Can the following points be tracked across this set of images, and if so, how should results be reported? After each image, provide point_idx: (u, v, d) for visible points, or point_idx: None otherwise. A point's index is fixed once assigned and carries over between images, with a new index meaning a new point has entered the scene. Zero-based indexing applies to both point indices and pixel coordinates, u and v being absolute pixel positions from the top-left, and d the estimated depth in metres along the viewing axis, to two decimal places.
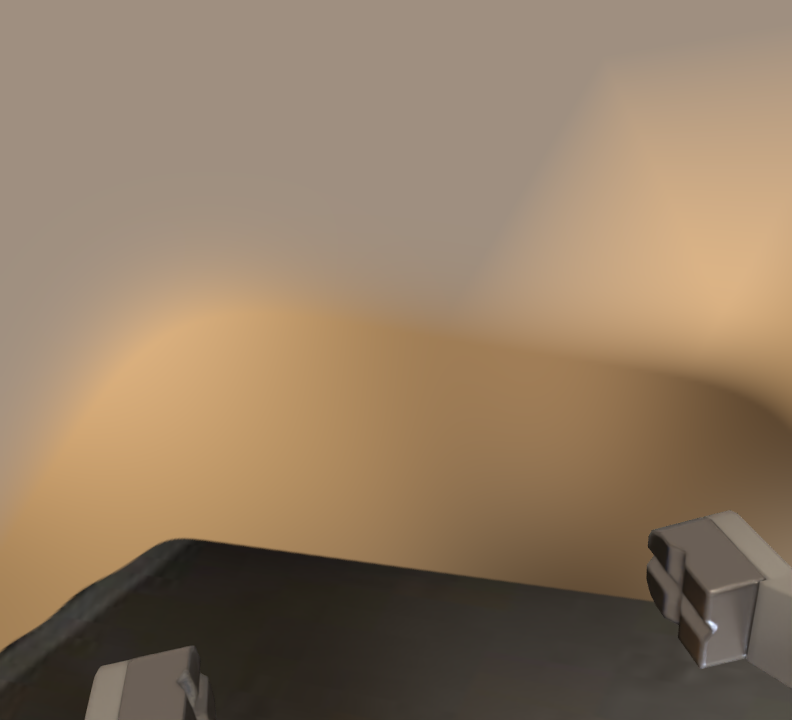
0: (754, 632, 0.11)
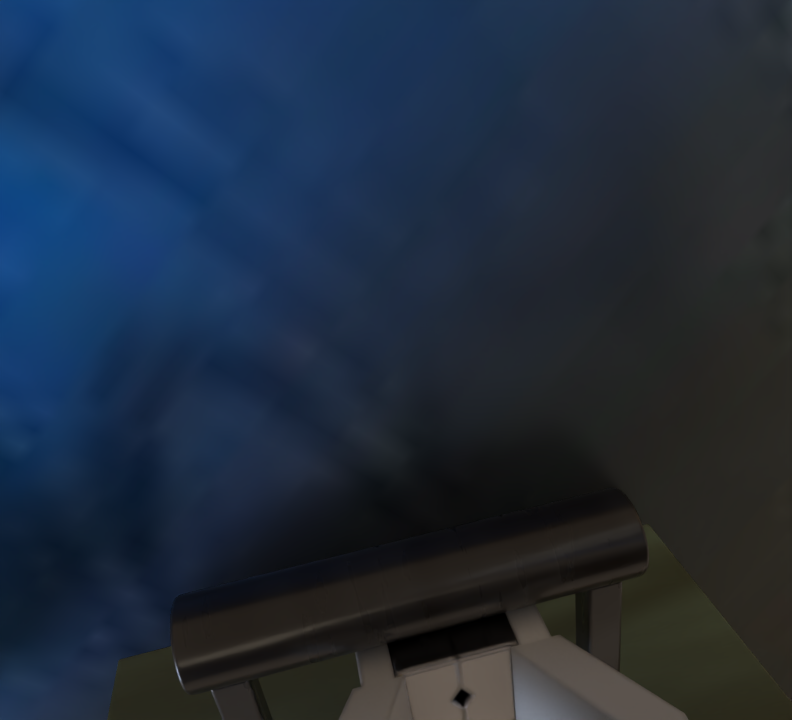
0: (515, 697, 0.10)
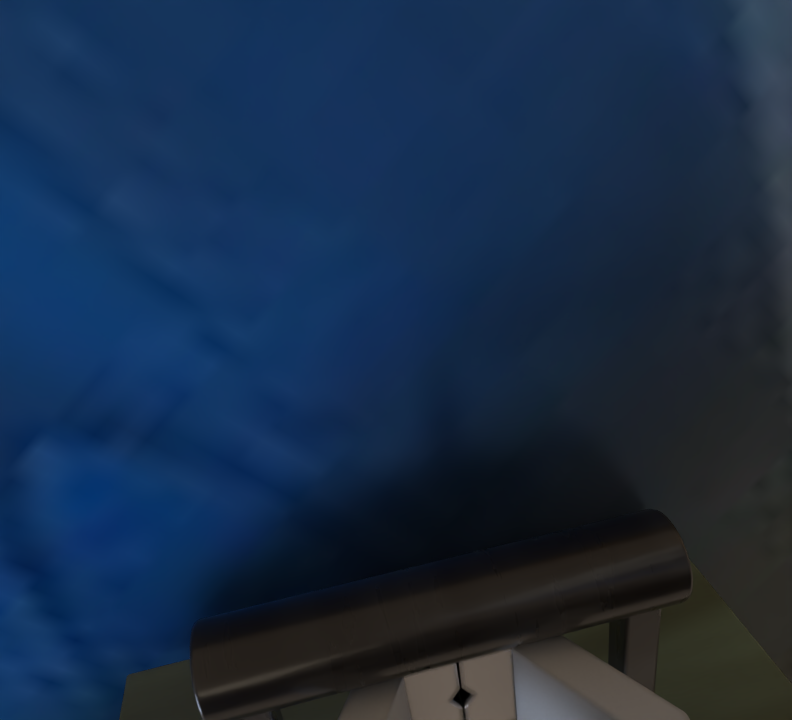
0: (516, 697, 0.10)
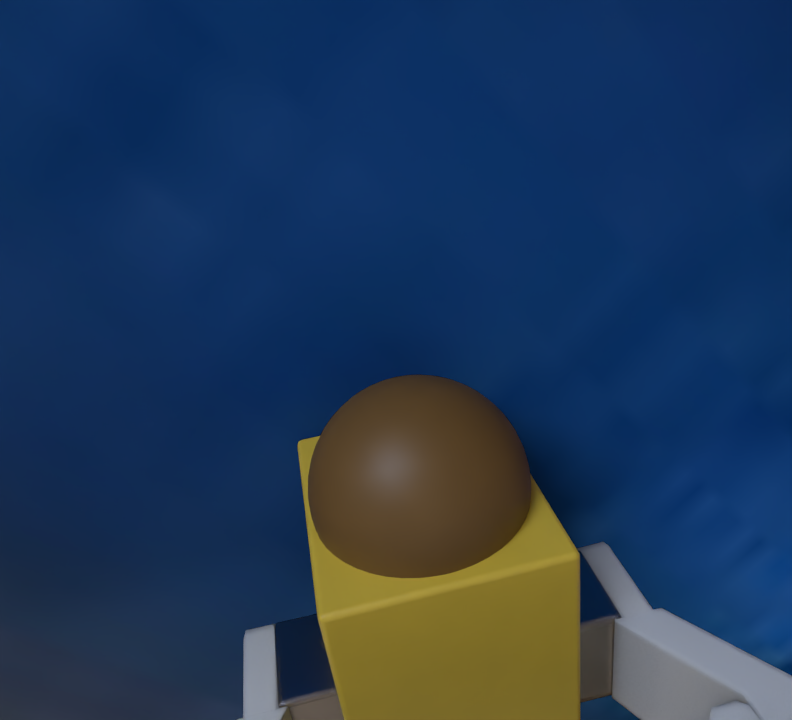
0: (614, 670, 0.11)
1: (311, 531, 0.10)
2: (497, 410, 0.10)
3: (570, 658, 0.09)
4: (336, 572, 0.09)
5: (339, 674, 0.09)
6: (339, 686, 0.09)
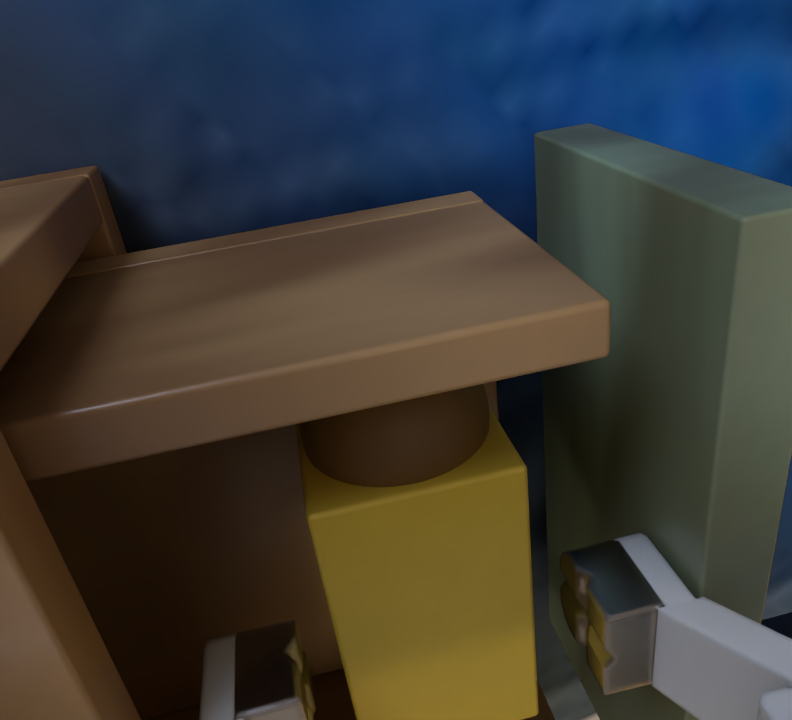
0: (656, 659, 0.11)
1: (302, 455, 0.11)
2: None
3: (522, 562, 0.11)
4: (322, 484, 0.11)
5: (325, 568, 0.10)
6: (325, 580, 0.10)
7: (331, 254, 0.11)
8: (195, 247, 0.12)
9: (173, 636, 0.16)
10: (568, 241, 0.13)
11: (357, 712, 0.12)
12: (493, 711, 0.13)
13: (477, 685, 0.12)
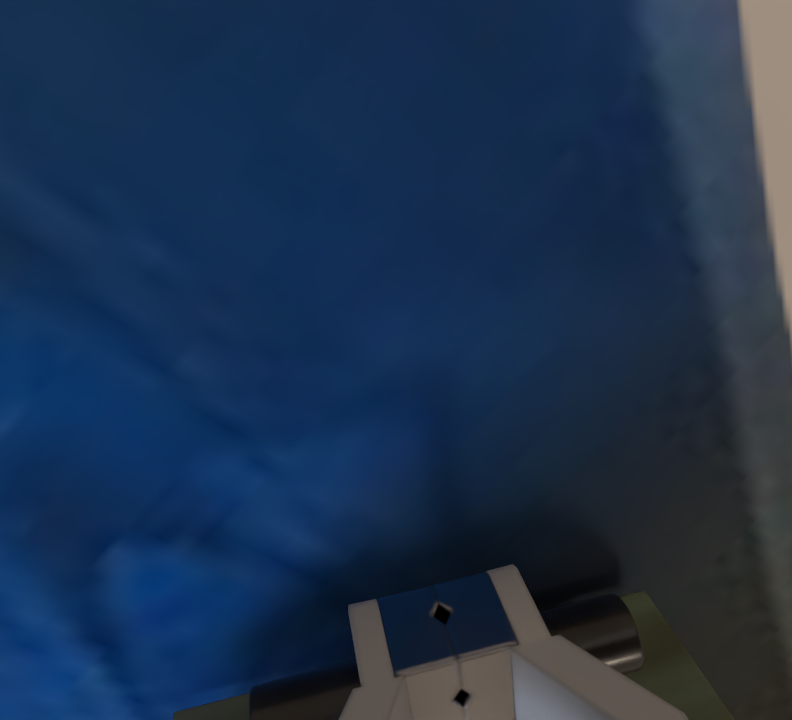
0: (515, 697, 0.10)
1: None
2: None
3: None
4: None
5: None
6: None
7: None
8: None
9: None
10: None
11: None
12: None
13: None
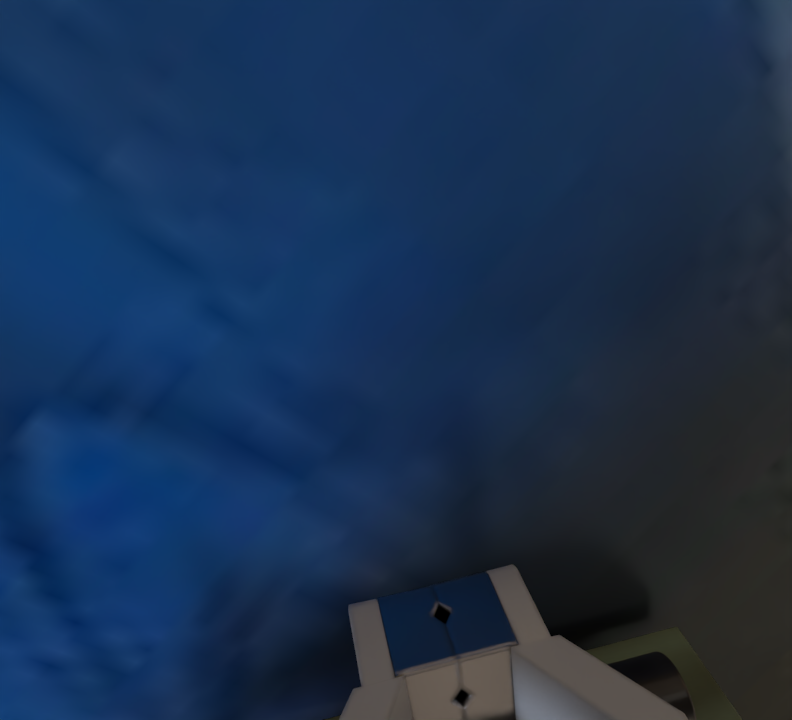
0: (515, 697, 0.10)
1: None
2: None
3: None
4: None
5: None
6: None
7: None
8: None
9: None
10: None
11: None
12: None
13: None
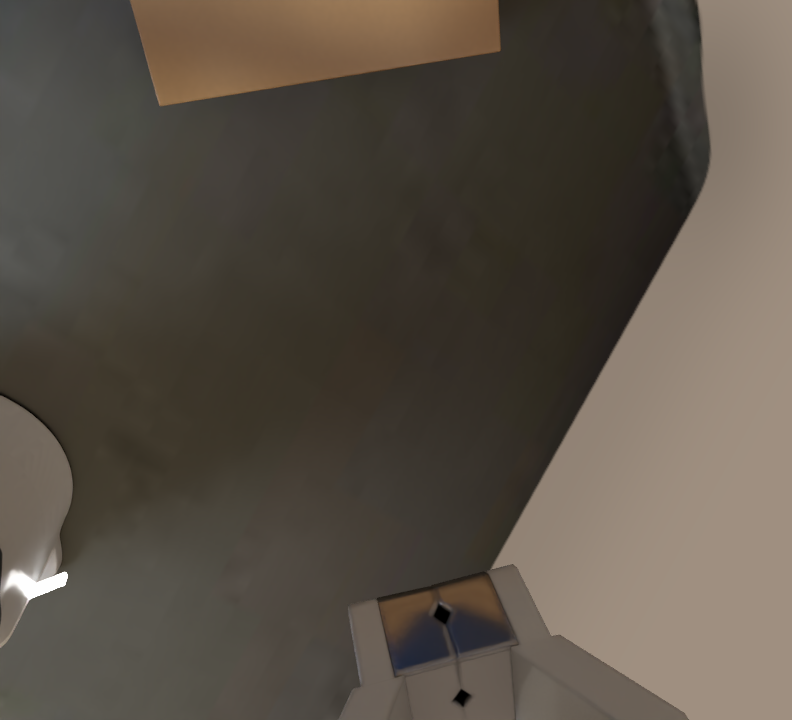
0: (515, 697, 0.10)
1: None
2: None
3: None
4: None
5: None
6: None
7: None
8: None
9: None
10: None
11: None
12: None
13: None
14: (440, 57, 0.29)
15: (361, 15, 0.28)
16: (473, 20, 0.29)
